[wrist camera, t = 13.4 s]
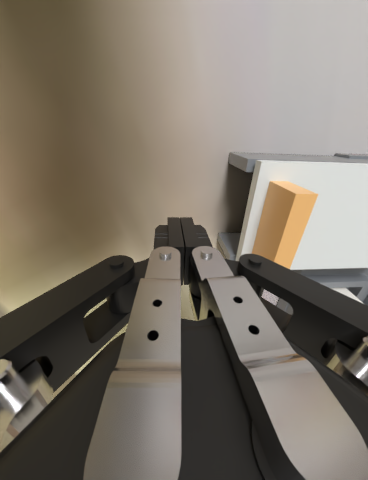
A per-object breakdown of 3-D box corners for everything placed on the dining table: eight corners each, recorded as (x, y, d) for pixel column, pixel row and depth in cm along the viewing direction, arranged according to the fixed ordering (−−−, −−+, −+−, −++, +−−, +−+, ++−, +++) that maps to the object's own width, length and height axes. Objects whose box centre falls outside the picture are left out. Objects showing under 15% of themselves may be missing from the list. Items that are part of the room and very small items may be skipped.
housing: (206, 316, 26) (223, 392, 18) (230, 149, 16) (287, 167, 8) (391, 307, 28) (471, 370, 21) (510, 159, 18) (738, 180, 11)
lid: (234, 265, 16) (251, 297, 13) (256, 159, 12) (287, 170, 9) (407, 261, 18) (459, 288, 15) (477, 166, 14) (568, 177, 11)
